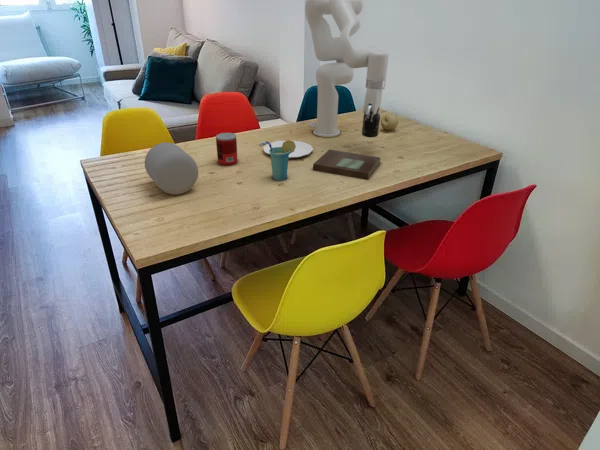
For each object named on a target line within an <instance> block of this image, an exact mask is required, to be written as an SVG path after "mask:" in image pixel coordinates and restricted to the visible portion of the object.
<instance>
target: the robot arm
mask: <svg viewBox="0 0 600 450" xmlns="http://www.w3.org/2000/svg"><path fill="white" fill-rule="evenodd" d="M362 10H363V0H305V5H304V12H305V13H304V14H305V17H306V21H307V24H308V26H309V29H310V33H311V39H312V45H313V48H314V54H315V57H316V59H317V60H318V61H320V62H331V61H332V62H331V63H324V64H321V65H319V66H318V68H317V69H316V72H315V79H316V84H317V86H316V87H317V103H316V105H317V106H316V107H317V109H316V122H312V121H309V123H308V126H309V128H311V129H312V128H313V130H312V132H313V134H314V136H318V137H321V138H333V137H334V138H335V137H337V136H340V133H341V131H340V129H339V128H338V113H339V112H338V111H339V93H338V90H337V89H336V86H341V85H346V84H347V85H348V84H350V83H351V82H352V81H353V79H354V69H359V68H366V77H365V88H366V91H365V96H364V102H363V110H362V113H363V115H364V114H365V113H366V118H365V127H364V130H366V131H372V127H373V121H372V120H373V116H374V114H376V113H377V110H378V108H379V110H381V106H382V105H381V104H382V97H383V90H385V88H386V80H387V73H388V63H389V52H388V51H386V50H383V49H378V48H377V47H375V46H361V47H355V46H354V45H353V43H352V42H351V39H350V38H351V37H352V36H354V35H355V34H356V33H357V32H358V31H359V29H360V27H361V21H360V19H359V17H358V16H359V15H360V14H361V12H362ZM327 15H329V16H332V18H333V20H334V22H335V24H336V26H337V28H338V30H339V33H340V35H339V36H338V37H337V36H336V37H333V35H332V31H331V26H330V24H329V22H328V21H327V20H326V19H325V18H324V16H327ZM333 61H335V62H333ZM370 112H373V113H370ZM370 115H372V116H370Z"/></svg>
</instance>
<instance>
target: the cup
mask: <svg viewBox="0 0 600 450" xmlns="http://www.w3.org/2000/svg"><path fill="white" fill-rule="evenodd" d="M286 140H287V141H286ZM286 140H284V141H285V142H283V145H282V147H274V148H272V146H271V143H272V142H270V141H269V140H267V141H264V142H262V143H259V147H262V146H266V145H267V144H269V147H270V150H269V153H270V154H269V155H270V164H271V173H272V179H273V180H275V181H284V180H286V179H287V178H288V170H289V169H288V168H289V166H288V165H289V159H290V158H289V154H290V153H292V152H294V150H295V147H296V146H295V143H294V141H295V140H293V141H291V140H292V139H286Z"/></svg>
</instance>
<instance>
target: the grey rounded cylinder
mask: <svg viewBox="0 0 600 450" xmlns="http://www.w3.org/2000/svg"><path fill="white" fill-rule="evenodd" d="M144 169H145V171H146V174H147V175H148V176H149V178H150V179H151V180H152V182H153V183H154V184H155V185H157V187H158V188H159V189H160V190H161V191H163V192H164V193H166V194H169V195H175V196H176V195H177V196H178V195H182V194H184V193H186V192H188V191H190V190H192V188H194V186H195V184H196V183H197V180H198V177H199V166H198V164H197V163H196V161H195V159H194V158H193V157H192V156H191V155H189V153H188V152H186V151H185V150H183V149H182V147H180V146H178V145H177V144H174V143H172V142H160V143H157V144H155V145H154V146H152V147H151V148H150V149H149V150H148V152H147V153H146V155H145V158H144ZM146 195H149V193H146ZM153 195H154V194H153V193H151V196H153Z"/></svg>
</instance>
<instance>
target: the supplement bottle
mask: <svg viewBox="0 0 600 450" xmlns="http://www.w3.org/2000/svg"><path fill="white" fill-rule="evenodd" d="M379 112H380V109H379V108H378V110H377V113H376V114H374V116H373V120H372V121H373V127H372V131H366V130H364V127H365V118H366V113H365V114H364V113H363V117H362V127H361V135H362V136H363V137H366V138H376V137H378V136H379V131H380V130H379V129H380V124H381V114H380V113H379ZM370 113H373V112H370ZM370 116H372V115H370Z"/></svg>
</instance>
